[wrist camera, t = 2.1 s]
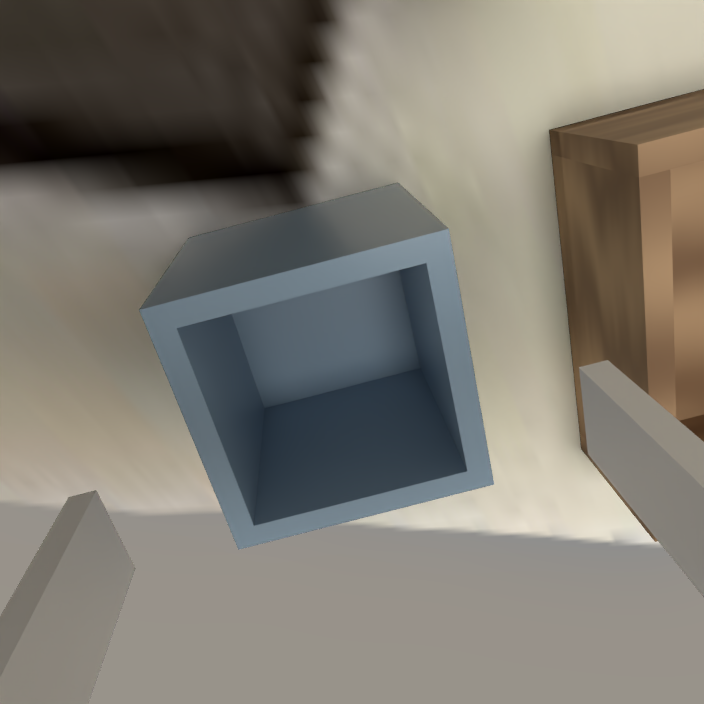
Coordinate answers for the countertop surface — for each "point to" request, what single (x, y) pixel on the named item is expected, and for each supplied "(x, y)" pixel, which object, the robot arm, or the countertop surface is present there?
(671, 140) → the walnut crate
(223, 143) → the countertop surface
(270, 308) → the slate crate
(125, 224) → the countertop surface
